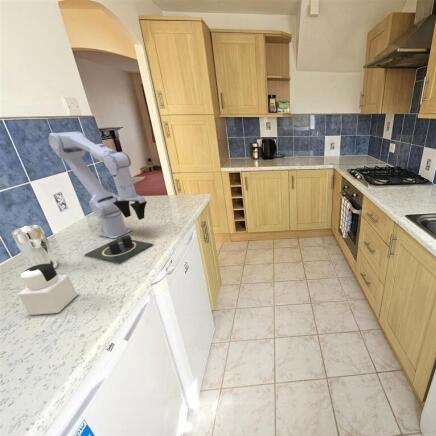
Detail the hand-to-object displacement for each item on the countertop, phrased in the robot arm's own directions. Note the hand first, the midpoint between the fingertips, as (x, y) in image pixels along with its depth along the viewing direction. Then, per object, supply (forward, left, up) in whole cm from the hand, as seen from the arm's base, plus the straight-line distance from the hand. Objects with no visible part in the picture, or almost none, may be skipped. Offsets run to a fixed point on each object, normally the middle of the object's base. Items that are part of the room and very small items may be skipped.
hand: (134, 217), depth 98 cm
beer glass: (-12, -27, -10) cm, 31 cm away
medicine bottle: (+12, -37, -10) cm, 40 cm away
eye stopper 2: (+3, -8, -9) cm, 12 cm away
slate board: (+1, -10, -9) cm, 14 cm away
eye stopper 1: (+2, -13, -9) cm, 15 cm away
